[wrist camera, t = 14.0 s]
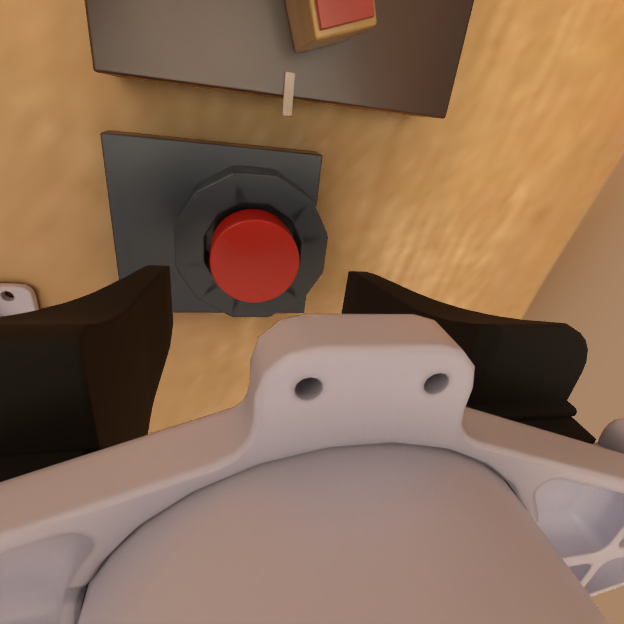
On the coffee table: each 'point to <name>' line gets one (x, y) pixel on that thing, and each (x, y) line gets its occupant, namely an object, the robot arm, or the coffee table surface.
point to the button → (253, 256)
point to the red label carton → (328, 21)
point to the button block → (208, 211)
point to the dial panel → (285, 51)
